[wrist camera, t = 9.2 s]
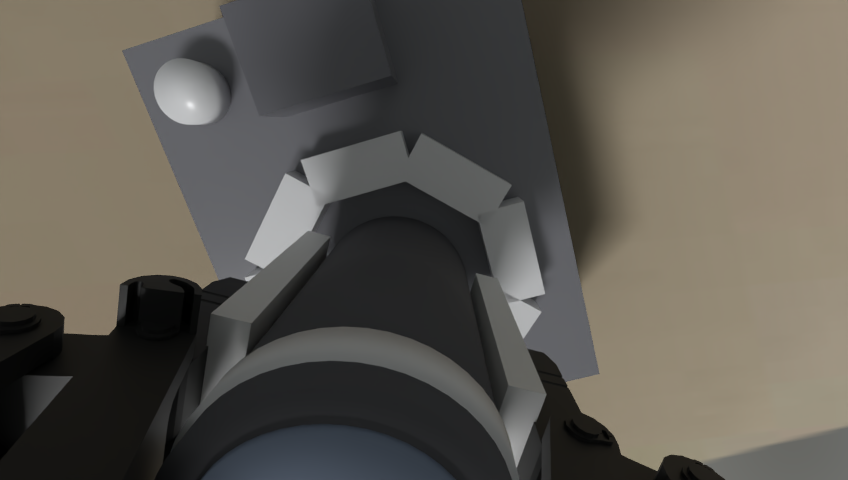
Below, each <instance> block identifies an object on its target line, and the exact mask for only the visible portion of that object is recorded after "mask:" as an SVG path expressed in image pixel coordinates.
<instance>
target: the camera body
mask: <svg viewBox="0 0 848 480" xmlns="http://www.w3.org/2000/svg"><path fill="white" fill-rule="evenodd" d="M219 7H220V9H221V12H222V15H223V18H220V19H217V20H214V21H211V22H208V23H205V24H202V25H199V26H195V27H192V28H189V29H186V30H183V31H180V32H177V33H174V34H171V35H168V36H165V37H162V38H159V39H156V40H153V41H150V42H147V43H144V44H141V45H138V46H135V47H132V48H129V49H126V50H123V51H122V52H123V54H124V56H125V59H126V61H127V63H128V66H129V68H130V71H131V73H132V75H133V78H134V80H135V82H136V85H137V87H138V89H139V92H140V94H141V97H142V99H143V101H144V104H145V106H146V108H147V111H148V113H149V116H150V118H151V120H152V123H153V125H154V127H155V130H156V132H157V134H158V137H159V139H160V142H161V144H162V146H163V149H164V151H165V153H166V156H167V158H168V161H169V163H170V165H171V168H172V170H173V172H174V175H175V177H176V179H177V182H178V184H179V187H180V189H181V191H182V194H183V196H184V198H185V201H186V203H187V206H188V208H189V210H190V213H191V215H192V217H193V220H194V222H195V224H196V227H197V229H198V232H199V234H200V236H201V239H202V241H203V243H204V246H205V248H206V251H207V253H208V255H209V258H210V260H211V262H212V265H213V267H214V269H215V272H216V274H217V277H218V279H219V280H221V279H225V278H228V277H232V278H236V279H240V280H244V281H250V280H251V279H252V278H253V277H254V276H255V275H257V274H258V273H259V272H260V271H261V270H263V269H264V268H265V267H266V266H267V265H268V264H270V263H271V262H272V261H273V260H274V259H275V258H277V257H278V256H279V255H280V254H281V253H282V252H284V251H285V250H286V249H287V248H288V247H290V246H291V245H292V244H293V243H294V242H295V241H297V240H298V239H299V238H300V237H301V236H302V235H304V234H305V233H306V232H307V231H311V232H315V233H319V234H323V235H327V236H331V237H330V242H329V247H328V251H327V256H328V255H329V254H330V252H331V251H332V250H333V249H334V247H335V246H336V245H337V244H338V242H339V241H340V240H341V239H342V238H343V237H344V236H345V235H346V234H347V233H348V232H349V231H351V230H352V229H354V228H355V227H357V226H358V225H360V224H362V223H364V222H367V221H370V220H373V219H376V218H381V217H390V216H398V217H407V218H412V219H416V220H419V221H422V222H424V223H426V224H428V225H430V226H432V227H434V228H435V229H437V230H438V231H440V232H441V233H442V234H443V235H444V236H445V237H446V238H447V239H448V240H449V241H450V242H451V243H452V244H453V246H454V247H455V249H456V250H457V251H458V253H459V255H460V257H461V259H462V262H463V265H464V268H465V272H466V277H467V281H468V285H469V290H471V287H472V284H473V281H474V277H475V274H476V273H478V274H482V275H486V276H490V277H493V278H497V279H498V281H499V283H500V285H501V288H502V290H503V293H504V295H505V297H506V300H507V302H508V304H509V307H510V309H511V311H512V314H513V316H514V319H515V321H516V323H517V326H518V328H519V330H520V333H521V335H522V337H523V340H524V342H525V345H526V347H527V349H531V350H535V351H539V352H543V353H545V354H546V355H547V356H548V357H549V358H550V359H551V360H552V361H553V362H554V363H555V364H556V365H557V367H558V369H559V371H560V372H561V374H562V378H564V380H565V382H567V381H571V380H575V379H580V378H584V377H588V376H592V375H596V374H599V370H598V365H597V360H596V356H595V351H594V346H593V341H592V336H591V331H590V327H589V322H588V317H587V312H586V307H585V303H584V298H583V293H582V288H581V283H580V279H579V274H578V269H577V264H576V259H575V255H574V250H573V245H572V240H571V235H570V231H569V226H568V221H567V216H566V211H565V207H564V202H563V197H562V192H561V187H560V183H559V178H558V173H557V168H556V163H555V159H554V154H553V149H552V144H551V139H550V135H549V130H548V125H547V120H546V115H545V111H544V106H543V101H542V96H541V91H540V86H539V82H538V77H537V72H536V67H535V62H534V58H533V53H532V48H531V43H530V38H529V34H528V29H527V24H526V19H525V14H524V10H523V5H522V0H236V1H233V2H230V3H227V4H224V5H221V6H219ZM327 256H326V257H327Z"/></svg>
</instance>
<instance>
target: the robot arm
mask: <svg viewBox="0 0 848 480" xmlns="http://www.w3.org/2000/svg"><path fill="white" fill-rule="evenodd" d="M330 237H331V236H327V235H323V234H319V233H315V232H311V231H307V232H306V233H305V234H304V235H302V236H301V237H300V238H299V239H298V240H297V241H295V242H294V243H293V244H292V245H291V246H290V247H288V248H287V249H286V250H285V251H284V252H282V253H281V254H280V255H279V256H278V257H277V258H275V259H274V260H273V261H272V262H271V263H270V264H268V265H267V266H266V267H265V268H264V269H263V270H261V271H260V272H259V273H258V274H257V275H255V276H254V277H253V278H252V279H251V280H250V281H244V280H240V279H236V278H232V277H228V278H225V279H221V280H218V281H214V282H212V283H211V284H209V285H208V286H206V287H205V288H204V289H202V288H201V287H200V286H199V285H198V284H197V283H195V282H192V281H190V280H188V279H185V278H180V277H176V276H166V275H150V276H141V277H137V278H133V279H129V280H127V281H125V282H124V283H122V284H120V292H119V303H118V315H117V326H116V327H115V329H114V330H113V331H112V332H111V333H110V334H109V335H83V334H64V316H63V315H62V314H61V313H60V312H59V311H57V310H54V309H51V308H49V307H44V306H37V305H33V304H22V305H20V304H9V305H6V306H1V307H0V480H154V479H155V477H156V474H157V473H158V471H159V469H160V468H161V466H162V464H163V463H164V461H165V459H166V458H167V456H168V455H169V454H170V452H171V449H172V447H173V444H174V442H175V439H176V437H177V436H178V434H179V432H180V430H181V429H182V427H183V425H184V424H185V422H186V421H187V419H188V418H189V417H190V416H191V415H192V413H193V412H194V411H195V410H196V409H197V407H198V406H199V405H200V404H201V403H202V401H203V400H204V399H205V398H206V397H207V395H208V394H209V393H210V392H211V391H212V389H213V388H214V387H215V386H216V385H217V383H218V382H219V381H220V380H221V379H222V377H223V376H224V375H225V374H226V373H227V372H228V371H229V370H230V369H231V368H232V367H233V366H234V365H236V364H237V363H238V362H239V361H240V360H241V359H243V358H244V357H246V356H247V355H249V354H250V352H251V351H252V350H253V349H254V347H255V346H256V345H257V344H258V342H259V341H260V340H261V339H262V337H263V336H264V335H265V334H266V332H267V331H268V330H269V329H270V327H271V326H272V325H273V324H274V322H275V321H276V320H277V319H278V317H279V316H280V315H281V314H282V312H283V311H284V310H285V309H286V307H287V306H288V305H289V304H290V302H291V301H292V300H293V299H294V297H295V296H296V295H297V294H298V292H299V291H300V290H301V289H302V287H303V286H304V285H305V284H306V282H307V281H308V280H309V279H310V277H311V276H312V275H313V274H314V272H315V271H316V270H317V269H318V267H319V266H320V265H321V264H322V262H323V261H324V260H325V259H326V256H327V251H328V247H329V242H330ZM470 294H471V299H472V303H473V308H474V312H475V317H476V321H477V326H478V330H479V334H480V339H481V343H482V348H483V352H484V357H485V361H486V366H487V370H488V375H489V379H490V383H491V388H492V392H493V397H494V401H495V406H496V408H497V410H498V412H499V414H500V416H501V418H502V420H503V422H504V425H505V428H506V430H507V433H508V436H509V439H510V443H511V447H512V451H513V455H514V459H515V463H516V468H517V472H518V476H519V480H725V479H724V478H722V477H721V476H720V475H718V474H717V473H716V472H715V471H714V470H713V469H712V468H710V467H708V466H707V465H703V463H701V462H699V461H697V460H692V459H689V458H687V457H684V456H678V455H669V456H667V457H664V459H663V461H662V463H661V465H660V467H659V470H658V471H655V470H653V469H651V468H649V467H646V466H644V465H642V464H640V463H637V462H635V461H633V460H631V459H628V458H626V457H624V456H623V455H621V453H620V449H619V445H618V443H617V441H616V439H615V437H614V436H613V435H612V433H611V432H610V431H609V430H608V429H607V428H606V427H605V426H603V425H602V424H601V423H599V422H598V421H596V420H595V419H593V418H591V417H589V416H587V415H585V414H583V413H581V411H580V409H579V407H578V405H577V403H576V401H575V400H574V398H573V396H572V394H571V392H570V390H569V388H567V384H566V382H565V380H564V378H562V374H561V372H560V371H559V369H558V367H557V365H556V364H555V363H554V362H553V361H552V360H551V359H550V358H549V357H548V356H547V355H546V354H545V353H543V352H539V351H535V350H531V349H527V347H526V345H525V342H524V340H523V337H522V335H521V333H520V330H519V328H518V326H517V323H516V321H515V319H514V316H513V314H512V311H511V309H510V307H509V304H508V302H507V300H506V297H505V295H504V293H503V290H502V288H501V285H500V283H499V281H498V279H497V278H493V277H490V276H486V275H482V274H478V273H476V274H475V277H474V281H473V284H472V287H471V290H470Z"/></svg>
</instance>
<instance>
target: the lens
mask: <svg viewBox="0 0 848 480" xmlns="http://www.w3.org/2000/svg"><path fill="white" fill-rule="evenodd" d="M154 480H519V476H518V472H517V468H516V463H515V459H514V455H513V451H512V447H511V443H510V439H509V436H508V433H507V430H506V428H505V425H504V422H503V420H502V418H501V416H500V414H499V412H498V410H497V408H496V406H495V401H494V397H493V392H492V388H491V383H490V379H489V375H488V370H487V366H486V361H485V357H484V352H483V348H482V343H481V339H480V334H479V330H478V326H477V321H476V317H475V312H474V308H473V303H472V299H471V294H470V290H469V285H468V281H467V277H466V272H465V268H464V265H463V262H462V259H461V257H460V255H459V253H458V251H457V250H456V249H455V247H454V246H453V244H452V243H451V242H450V241H449V240H448V239H447V238H446V237H445V236H444V235H443V234H442V233H441V232H440V231H438V230H437V229H435V228H434V227H432V226H430V225H428V224H426V223H424V222H422V221H419V220H416V219H412V218H407V217H398V216H390V217H381V218H376V219H373V220H370V221H367V222H364V223H362V224H360V225H358V226H357V227H355V228H354V229H352V230H351V231H349V232H348V233H347V234H346V235H345V236H344V237H343V238H342V239H341V240H340V241H339V242H338V244H337V245H336V246H335V247H334V249H333V250H332V251H331V252H330V254H329V255H328V256H327V257H326V259H325V260H324V261H323V262H322V264H321V265H320V266H319V267H318V269H317V270H316V271H315V272H314V274H313V275H312V276H311V277H310V279H309V280H308V281H307V282H306V284H305V285H304V286H303V287H302V289H301V290H300V291H299V292H298V294H297V295H296V296H295V297H294V299H293V300H292V301H291V302H290V304H289V305H288V306H287V307H286V309H285V310H284V311H283V312H282V314H281V315H280V316H279V317H278V319H277V320H276V321H275V322H274V324H273V325H272V326H271V327H270V329H269V330H268V331H267V332H266V334H265V335H264V336H263V337H262V339H261V340H260V341H259V342H258V344H257V345H256V346H255V347H254V349H253V350H252V351H251V352H250V354H249V355H247V356H246V357H244V358H243V359H241V360H240V361H239V362H238V363H237V364H236V365H234V366H233V367H232V368H231V369H230V370H229V371H228V372H227V373H226V374H225V375H224V376H223V377H222V379H221V380H220V381H219V382H218V383H217V385H216V386H215V387H214V388H213V389H212V391H211V392H210V393H209V394H208V395H207V397H206V398H205V399H204V400H203V401H202V403H201V404H200V405H199V406H198V407H197V409H196V410H195V411H194V412H193V413H192V415H191V416H190V417H189V418H188V419H187V421H186V422H185V424H184V425H183V427H182V429H181V430H180V432H179V434H178V436H177V437H176V439H175V442H174V444H173V447H172V449H171V452H170V454H169V455H168V456H167V458H166V459H165V461H164V463H163V464H162V466H161V468H160V469H159V471H158V473H157V474H156V477H155V479H154Z"/></svg>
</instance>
